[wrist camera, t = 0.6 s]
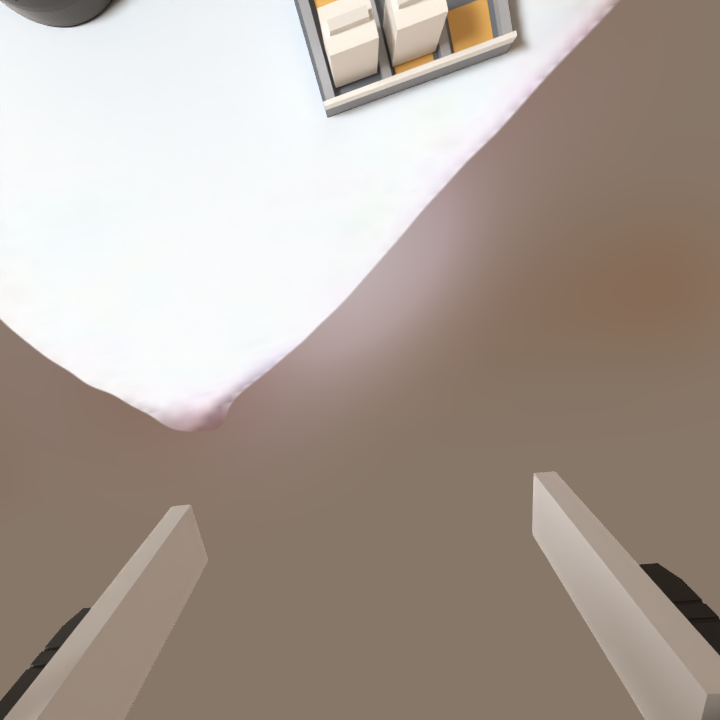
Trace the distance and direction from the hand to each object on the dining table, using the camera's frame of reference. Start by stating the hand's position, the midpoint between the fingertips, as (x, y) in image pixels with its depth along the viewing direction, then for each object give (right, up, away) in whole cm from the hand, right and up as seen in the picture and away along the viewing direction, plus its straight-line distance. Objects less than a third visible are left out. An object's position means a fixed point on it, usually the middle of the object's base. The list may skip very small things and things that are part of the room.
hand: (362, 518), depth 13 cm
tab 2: (+4, +33, +16) cm, 37 cm away
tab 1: (-1, +32, +16) cm, 36 cm away
